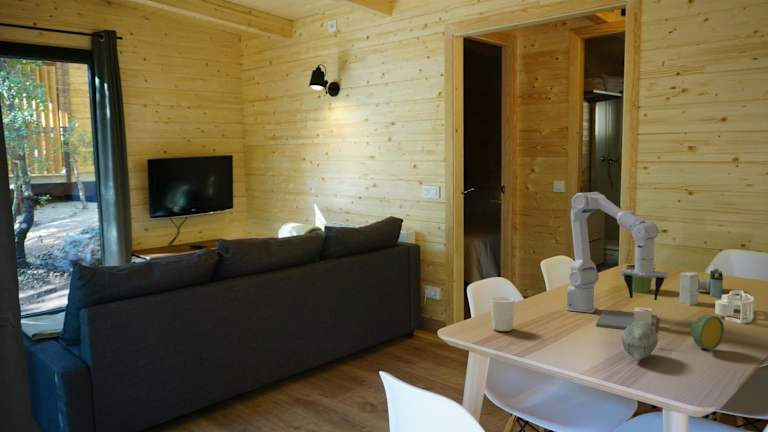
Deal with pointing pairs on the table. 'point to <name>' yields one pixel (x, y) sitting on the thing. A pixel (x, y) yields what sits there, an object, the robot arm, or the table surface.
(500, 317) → the white cup
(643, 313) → the white drawer cabinet
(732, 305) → the skeletal toy car
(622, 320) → the plate
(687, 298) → the skincare box
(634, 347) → the grey rounded piece
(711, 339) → the decorative artifact
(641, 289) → the plant pot
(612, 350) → the table surface
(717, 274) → the camera
